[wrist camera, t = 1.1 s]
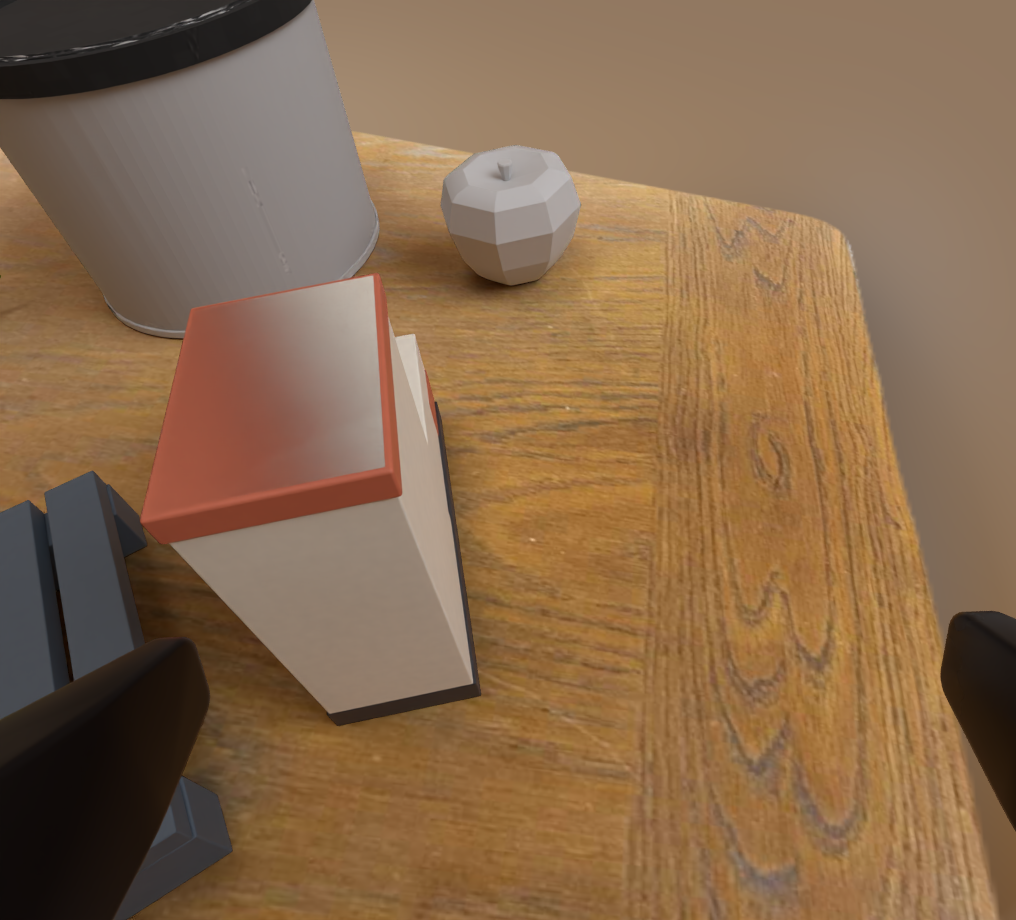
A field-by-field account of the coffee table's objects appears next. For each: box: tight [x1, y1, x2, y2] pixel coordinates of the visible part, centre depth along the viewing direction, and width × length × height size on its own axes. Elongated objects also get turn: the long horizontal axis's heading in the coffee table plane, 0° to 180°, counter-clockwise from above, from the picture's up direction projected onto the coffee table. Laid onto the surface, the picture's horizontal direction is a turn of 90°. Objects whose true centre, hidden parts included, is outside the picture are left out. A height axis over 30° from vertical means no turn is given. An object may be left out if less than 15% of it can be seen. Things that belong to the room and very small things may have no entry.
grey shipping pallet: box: [0, 471, 232, 920], centre depth 23 cm, size 16×10×4 cm, turn 32°
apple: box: [441, 145, 581, 286], centre depth 37 cm, size 8×8×7 cm
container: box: [0, 0, 379, 338], centre depth 39 cm, size 19×19×15 cm
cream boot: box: [140, 273, 481, 726], centre depth 23 cm, size 14×5×13 cm, turn 10°
